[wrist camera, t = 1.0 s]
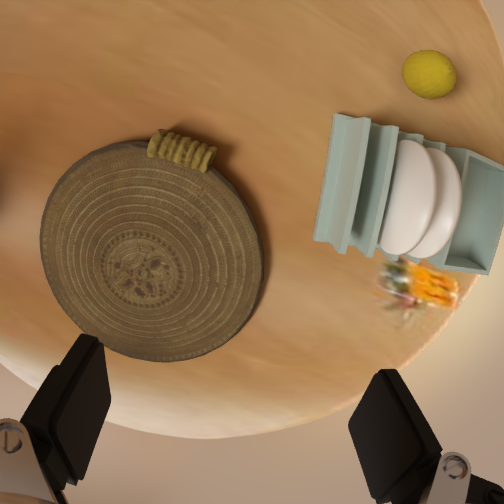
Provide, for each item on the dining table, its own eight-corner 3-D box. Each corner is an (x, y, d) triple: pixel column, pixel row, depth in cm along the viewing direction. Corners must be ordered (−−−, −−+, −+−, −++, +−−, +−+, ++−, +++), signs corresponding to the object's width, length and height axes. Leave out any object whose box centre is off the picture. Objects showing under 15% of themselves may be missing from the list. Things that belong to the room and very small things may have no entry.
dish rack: (333, 114, 30) (382, 101, 18) (487, 165, 32) (550, 180, 21) (312, 238, 34) (346, 284, 23) (465, 260, 36) (518, 297, 25)
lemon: (435, 82, 28) (476, 74, 21) (414, 110, 30) (455, 106, 22) (405, 49, 27) (442, 33, 19) (382, 76, 28) (418, 63, 21)
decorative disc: (37, 329, 35) (48, 108, 25) (47, 317, 39) (63, 109, 28) (225, 390, 40) (309, 173, 29) (226, 373, 43) (302, 169, 32)
